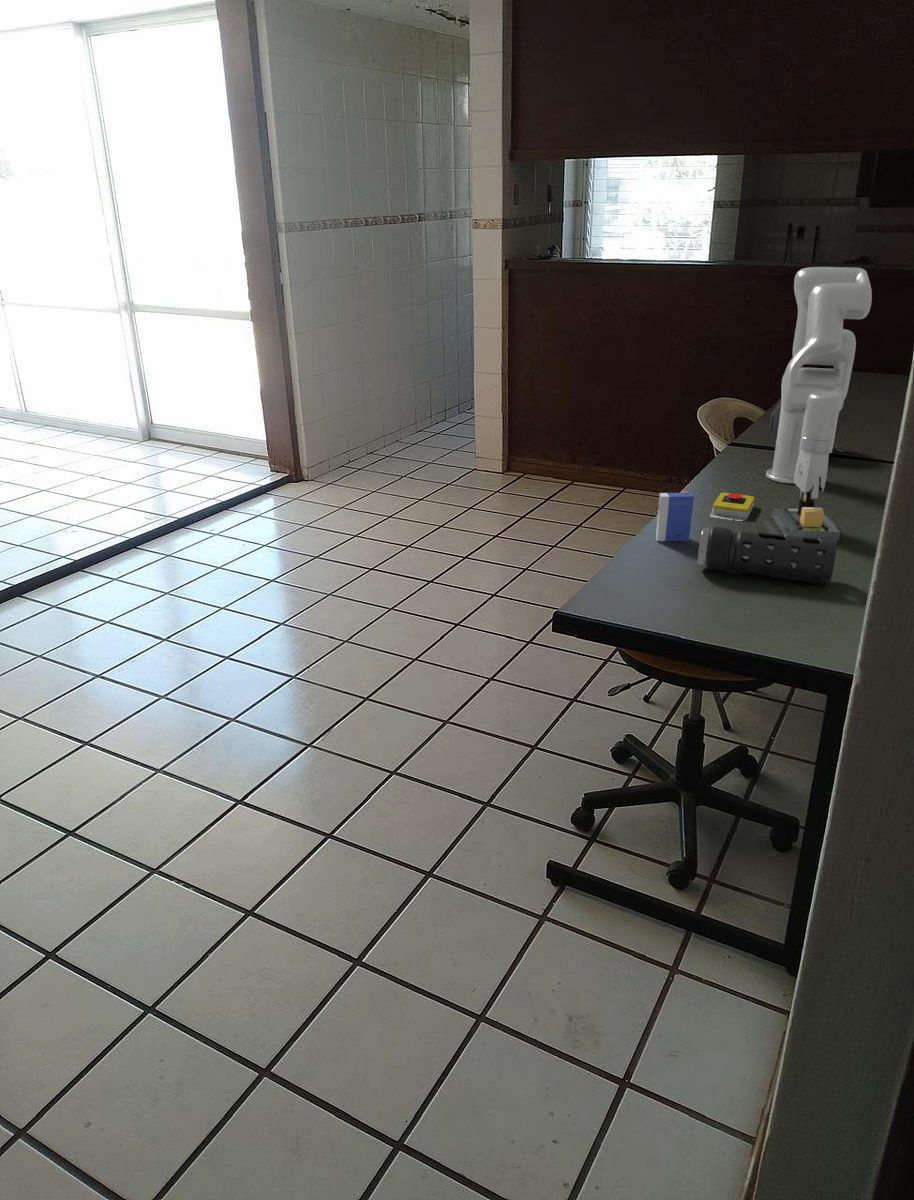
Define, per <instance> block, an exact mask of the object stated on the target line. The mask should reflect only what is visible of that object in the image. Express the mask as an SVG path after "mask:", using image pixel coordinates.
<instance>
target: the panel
mask: <svg viewBox="0 0 914 1200" xmlns="http://www.w3.org/2000/svg"><path fill="white" fill-rule="evenodd" d="M771 511H772V512H771V517H772V518H773V519H774V521H775V522H776V524H777V525H778V526H779V528H780V529H781V530H780V529H779V528H778V529H779V530H780V532H781V531H782V532H783V533H782V532H781V533H782V535H783V534H784V535H789V536H798V537H808V538H818V539H827V540H835V541H836V543H837V542H839V541H840V536H841V530H839V529H837V528H836V527H835V525H834V524H833V523H832V522H831V521H830V520H829V519H828V518H827V517H826V516H827V515H826V514H825V513H824V515H823V521H822V526H821V527H803V526H802V525H801V524H800V516H799V515H798V508H772V510H771ZM772 518H771V519H772ZM774 521H773V522H774ZM775 522H774V523H775ZM776 524H775V525H776ZM777 525H776V526H777ZM778 526H777V527H778Z"/></svg>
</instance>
